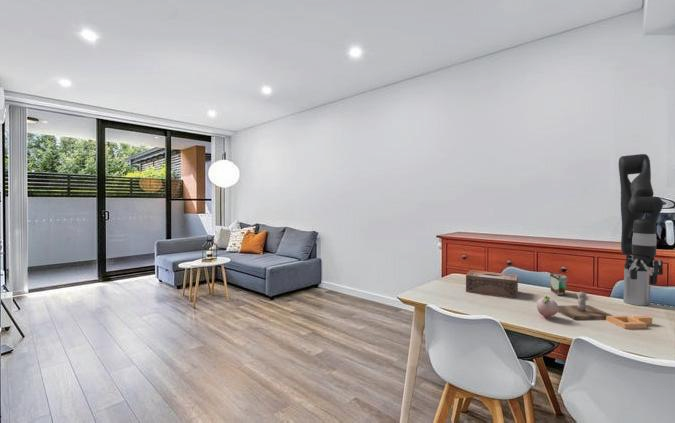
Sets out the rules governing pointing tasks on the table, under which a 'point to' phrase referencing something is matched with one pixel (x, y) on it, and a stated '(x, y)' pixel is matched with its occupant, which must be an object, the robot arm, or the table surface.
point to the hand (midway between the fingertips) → (642, 281)
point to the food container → (558, 284)
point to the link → (630, 321)
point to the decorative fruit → (547, 307)
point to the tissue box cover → (492, 283)
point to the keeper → (582, 310)
